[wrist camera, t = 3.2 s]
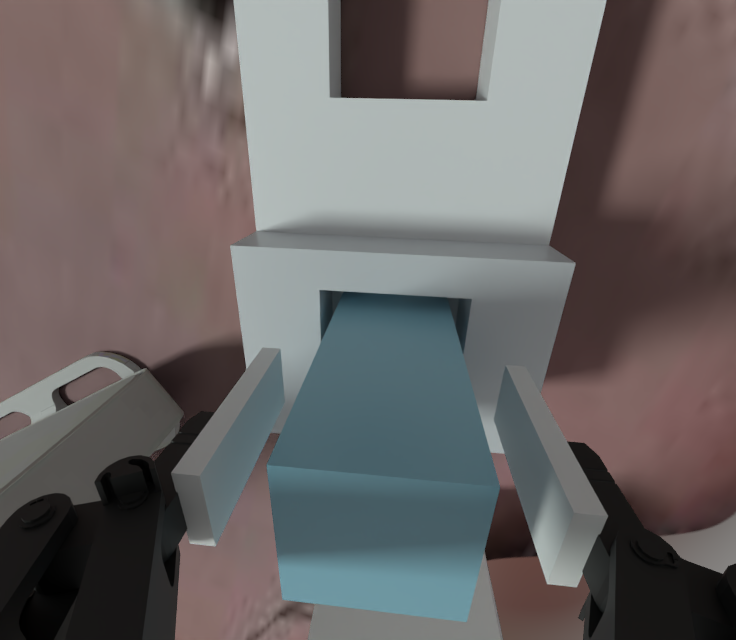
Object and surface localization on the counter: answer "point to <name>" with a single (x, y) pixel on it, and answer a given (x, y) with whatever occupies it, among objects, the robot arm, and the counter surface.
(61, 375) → the network device
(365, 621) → the storage container
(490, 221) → the panel
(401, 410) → the plug
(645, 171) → the counter surface
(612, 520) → the robot arm
